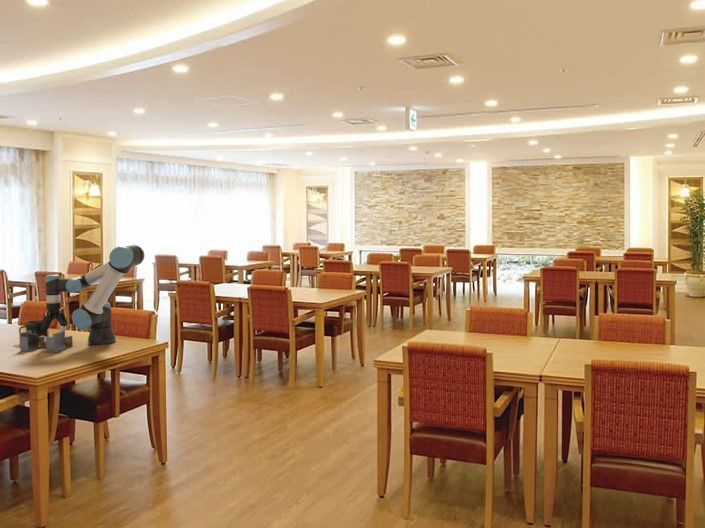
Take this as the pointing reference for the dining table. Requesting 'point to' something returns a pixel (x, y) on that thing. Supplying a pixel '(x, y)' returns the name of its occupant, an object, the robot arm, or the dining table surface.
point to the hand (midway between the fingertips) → (54, 339)
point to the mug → (34, 327)
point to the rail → (41, 338)
